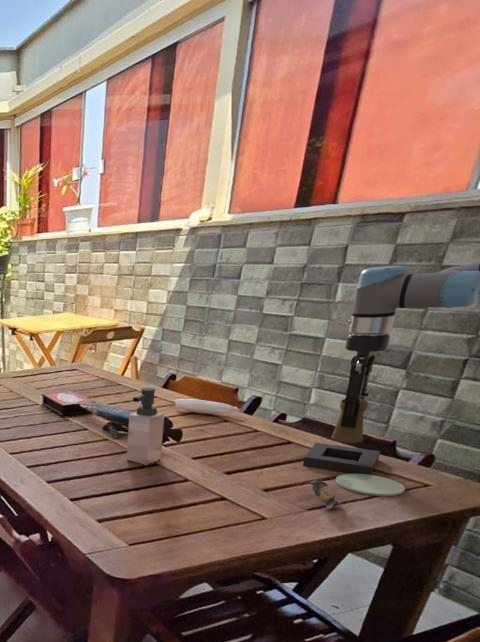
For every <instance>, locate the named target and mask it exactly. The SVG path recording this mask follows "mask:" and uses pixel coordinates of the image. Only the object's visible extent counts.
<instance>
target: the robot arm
mask: <svg viewBox="0 0 480 642" xmlns="http://www.w3.org/2000/svg"><path fill="white" fill-rule="evenodd" d="M405 270H406V268H405V266H404V265H387V266H386V265H385V266H375V267H368V268H365V269H363V270H362V271H360V272H361V273H360V275H359V279H358V282H357V287H356V288H355V295H354V301H353V306H352V313H351V318H350V319H347V321H346V324H348V325H349V328H348V333H350V334H348V335H347V336H346V342H345V347H344V348H345V350H347V351H351V352H356V355H354V356H353V357H351V361H350V364H351V365H350V369H349V370H350V371H349V380H348V385H347V389H346V395H345V398H344V399H345V400H343V399H341V401H342V402H345V407H344V412H343V417H342V422H341V427H350V428H355V426H356V422H357V417H358V412H359V407H360V403H359V402H360V398H361V399H364V400H365V397H369V396H370V393H369V392H367V391H368V384H369V379H370V375H371V373H372V370H373V366H374V364H375V362H376V358H377V357H376V356H375V354H374V352H383V351H385V350H387V349H388V348H389V347H388V346H389V342H390V338H391V335H390V334H389V333H390V332H392V331H393V325H394V321H395V317H396V315H395V314H396V311H397V309H409V308H410V309H411V308H412V309H415V308H416V309H417V308H418V309H419V308H422V309H426V308H427V309H428V308H429V309H430V308H435V309H437V308H438V309H440V308H445V309H452V308H465V307H470V306H472V305H473V304H475V302H476V301H477V299H478V297H479V296H480V261H474V262H470V263H466V264H462V265H461V264H457V265H453V266H450V267H445V268H444V269H441V270H440V271H437V272H427V273H406V271H405Z"/></svg>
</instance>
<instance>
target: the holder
mask: <svg viewBox="0 0 480 642" xmlns="http://www.w3.org/2000/svg"><path fill="white" fill-rule="evenodd" d="M380 454H381V451H380V450H374V449H373V450H372V449H366V448H357V447H352V446H343V445H336V444H330V443H329V444H328V443H321V442H314V443H313V445H312V446H311V448H310V449H309V450H308V451H307V453H306V454H305V455H304V457H303V463H302V466H305V467H311V468H317V469H322V470H328V471H333V472H334V471H335V472H340V473H341V472H342V473H346V474H368V475H373V472H374V470H375V468H376V466H377V463H378V462H379V459H380ZM356 460H359V461H356Z"/></svg>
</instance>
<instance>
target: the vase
mask: <svg viewBox="0 0 480 642" xmlns="http://www.w3.org/2000/svg"><path fill="white" fill-rule="evenodd" d="M309 484H310V485H311V488H312V490H313V492H314V496H315V497H316V499H317V500H319V501H320V502H323V503H326V505H325V507H322V510H323V509H324V512H326V511H327V510H330V511H331V510H332V507H333V506H334V505H338V506H337V507H342V506H343V505H344V504H342V503H344V501H339V500H336V492H335V490H334V488H332V487H331V486H329V484H327V483H326V482H325V481H323V478H317V479H315V480H312V481H310V482H309ZM310 505H311V504H310Z"/></svg>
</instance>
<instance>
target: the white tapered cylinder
mask: <svg viewBox="0 0 480 642" xmlns="http://www.w3.org/2000/svg"><path fill="white" fill-rule="evenodd" d="M174 403H175V404H174V405H175V406H176V408H177V409H180V410H182V411H186V412H190V413H195V414H206V415H219V414H221V415H222V414H230V413H233V412H234V413H237V412H240V411H241V410H240V408H238V406H233V405H231V404H227V403H223V402H218V401H212V400H204V399H193V398H192V399H191V398H190V399H189V398H180V399H174Z"/></svg>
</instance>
